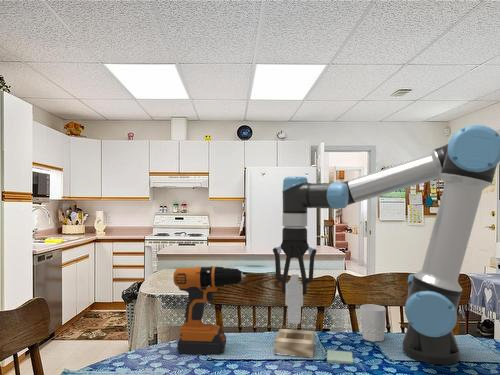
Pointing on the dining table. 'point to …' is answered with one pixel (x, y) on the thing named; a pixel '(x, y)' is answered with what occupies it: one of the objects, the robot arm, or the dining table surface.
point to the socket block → (295, 342)
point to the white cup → (373, 322)
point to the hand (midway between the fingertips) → (294, 304)
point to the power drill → (202, 307)
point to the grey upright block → (294, 300)
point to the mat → (339, 357)
